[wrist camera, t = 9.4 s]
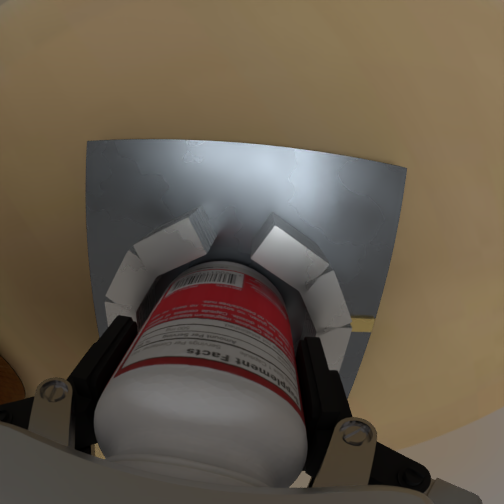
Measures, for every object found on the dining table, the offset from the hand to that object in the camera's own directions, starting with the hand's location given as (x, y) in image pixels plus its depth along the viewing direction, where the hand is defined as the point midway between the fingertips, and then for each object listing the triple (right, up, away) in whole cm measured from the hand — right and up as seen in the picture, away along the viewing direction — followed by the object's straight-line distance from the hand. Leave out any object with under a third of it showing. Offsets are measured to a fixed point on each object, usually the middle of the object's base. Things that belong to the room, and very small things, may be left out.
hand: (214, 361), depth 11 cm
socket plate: (0, +2, +5) cm, 5 cm away
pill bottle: (0, +1, +4) cm, 4 cm away
